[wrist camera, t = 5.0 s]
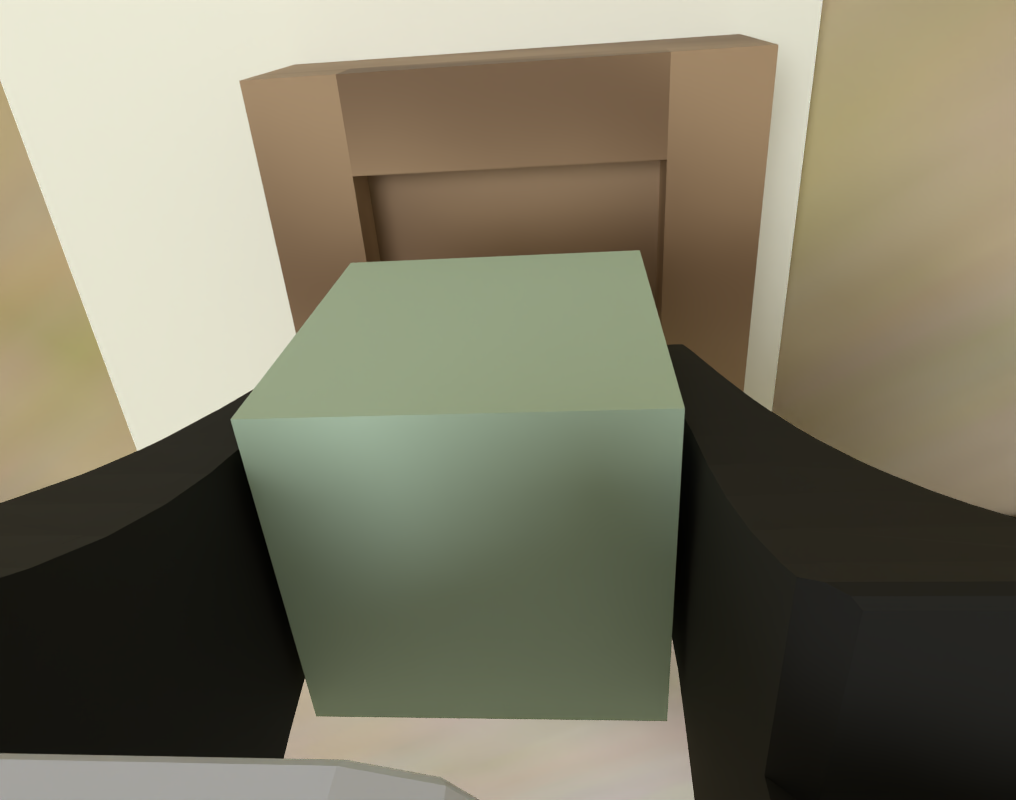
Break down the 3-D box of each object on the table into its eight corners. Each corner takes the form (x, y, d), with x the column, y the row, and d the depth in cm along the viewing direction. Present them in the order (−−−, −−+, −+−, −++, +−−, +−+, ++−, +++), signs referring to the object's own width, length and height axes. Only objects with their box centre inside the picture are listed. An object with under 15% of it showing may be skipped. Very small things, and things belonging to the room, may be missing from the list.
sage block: (634, 490, 13) (666, 721, 9) (391, 494, 13) (316, 716, 9) (639, 249, 10) (684, 409, 7) (350, 263, 11) (230, 419, 7)
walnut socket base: (709, 426, 19) (732, 497, 16) (364, 433, 20) (333, 502, 17) (740, 33, 14) (778, 44, 12) (295, 64, 15) (239, 80, 13)
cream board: (757, 457, 20) (764, 474, 19) (162, 467, 22) (149, 483, 21) (924, -978, 9) (953, -1054, 9) (-271, -755, 11) (-327, -805, 10)
